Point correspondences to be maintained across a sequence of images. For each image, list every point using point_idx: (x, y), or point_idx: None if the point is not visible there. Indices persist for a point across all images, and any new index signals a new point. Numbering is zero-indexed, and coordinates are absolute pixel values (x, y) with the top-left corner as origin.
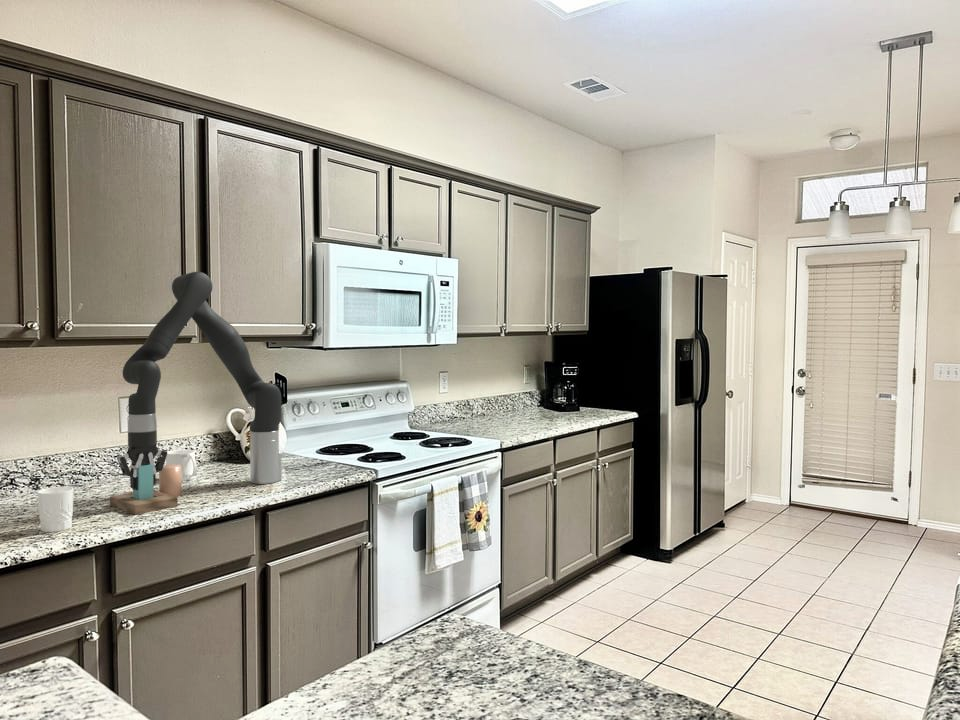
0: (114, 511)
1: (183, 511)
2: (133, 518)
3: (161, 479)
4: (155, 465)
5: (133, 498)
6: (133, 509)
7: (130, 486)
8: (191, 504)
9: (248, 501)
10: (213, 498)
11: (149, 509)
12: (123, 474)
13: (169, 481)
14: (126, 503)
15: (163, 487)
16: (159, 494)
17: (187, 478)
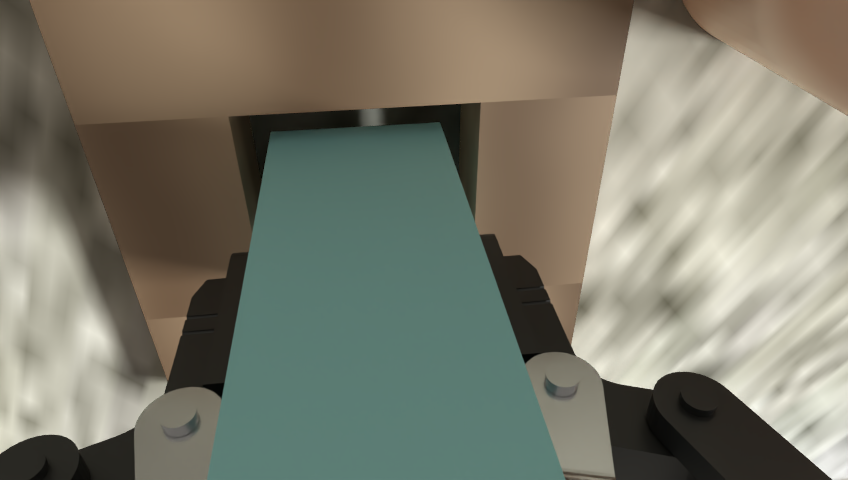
0: (58, 187)
1: None
2: None
3: (821, 11)
4: (698, 465)
5: (272, 144)
6: None
7: (194, 295)
8: (626, 361)
9: (837, 473)
10: (835, 309)
11: None
12: (5, 465)
13: (834, 105)
14: (146, 306)
15: (747, 12)
16: (538, 214)
17: None
